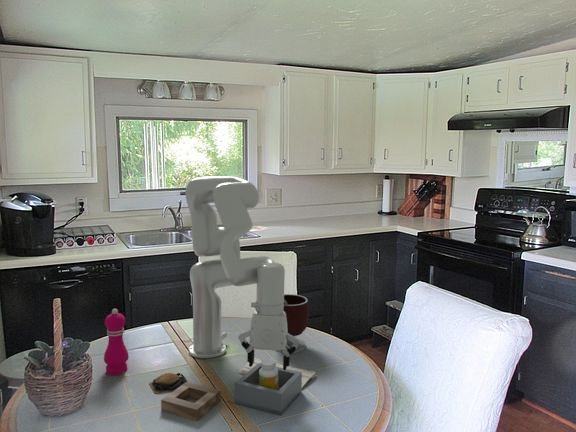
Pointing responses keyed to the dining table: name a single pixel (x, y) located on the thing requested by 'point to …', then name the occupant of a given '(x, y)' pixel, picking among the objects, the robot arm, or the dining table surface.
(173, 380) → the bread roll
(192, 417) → the socket collar
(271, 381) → the supplement bottle
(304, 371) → the newspaper
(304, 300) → the mate gourd
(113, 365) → the pepper mill
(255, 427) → the dining table surface
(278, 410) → the bin
